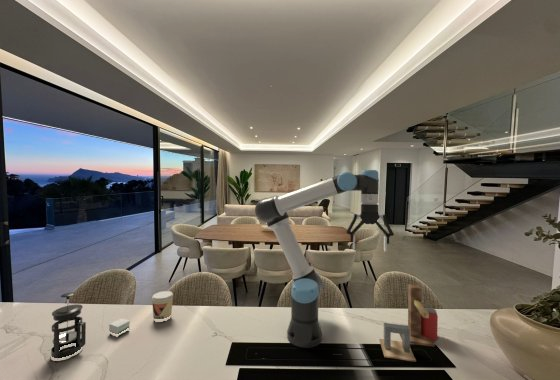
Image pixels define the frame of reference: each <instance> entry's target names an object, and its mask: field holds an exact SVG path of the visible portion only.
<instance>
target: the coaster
mask: <svg viewBox="0 0 560 380" xmlns="http://www.w3.org/2000/svg"><path fill="white" fill-rule="evenodd" d="M379 344H380V346H381V350H382V353H383V356H384V358H388V359H394V360H401V361H407V362H415V363H416V362H417V359H416V357H415V355H414V353H413V351H412V349H411V348H410V353H407V352H404V350H403V348H402V340H401V341H399V340H392V339H391V350H386V349H385V347H384V338H379Z"/></svg>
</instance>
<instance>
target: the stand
mask: <svg viewBox="0 0 560 380" xmlns="http://www.w3.org/2000/svg"><path fill="white" fill-rule="evenodd" d="M407 289H408V290H407V291H408V292H407V293H408V294H407V296H408V297H407V299H408V301H407V302H408V303H407V326H408V327H409V329H410V345H416V346H417V345H419V346H426V347H433V348H435V347H436V343H435V342H434V340H432V339H430V338H427V337H424V336H423V335H421V315H422V316H423V318H429V313H428V312H427V311H426V309H425V308H424V307H425V306H423V304H422V288H421V287H420V285H419V284H411V283H409V284H408V288H407ZM399 336H400V339H401V340H402V334H399Z"/></svg>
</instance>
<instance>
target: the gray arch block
mask: <svg viewBox="0 0 560 380" xmlns="http://www.w3.org/2000/svg"><path fill="white" fill-rule="evenodd" d="M391 333H393V334H399V335H400V334H402V339H401V342H402V348H403V350H404V352H407V353H410V349H411V344H410V329H409V327H408V325H406V324H396V323H388V322H383V339H384V347H385V349H386V350H391V340H392V339H391V337H392V335H391Z"/></svg>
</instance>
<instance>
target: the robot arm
mask: <svg viewBox="0 0 560 380" xmlns="http://www.w3.org/2000/svg"><path fill="white" fill-rule="evenodd" d="M379 180H380V179H379V171H378V170H376V169H364V170H363V169H362V170H361V172H360V174H354V173H353V172H350V171H345V172H342V173H340V174H336V175H335V176H333V177H330V178H327V179H324V180H322V181H319V182H316V183H313V184H311V185H308V186H305V187H303V188H299V189H296V190H294V191H291V192H288V193H285V194H283V195H280V196H279V195H273V196H270V197H264V198H262V199H260V200H259V201H258V202H257V203H256V204H255V207H254V213H255V216H256V218H257V219H258V220H259V221H260V222H262V223H266V225H267V227H268V229H271V230H272V231H273V233H274V235H275V238H276V239H277V242H278V243H279V245H280V248H281V249H282V253H283V254H284V256H285V259H286V261H287V263H288V265H289V267H290V269H291V271H292V279H291V280H293V283H292V284H291V288H290V289H291V290H290V291H291V292H290V294H291V296H290V299H291V309H290V310H291V312H290V313H291V314H290V321H289V325H288V328H287V330H286V338H287V341H288V342H289V343H291V344H292V345H293V346H295V347H297V348H303V349H305V348H306V349H310V348H314V347H317V346H318V345H320V344H321V343H322V342H323V331H322V328H321V326H320V322H319V301H320V297H321V294H322V291H323V281H322V280H323V279H322V278H321V276H320V275H319V274H318V273H317V272H316V270H315V268H314V267H313V266H311V265H309V263H308V260H307V259H306V257H305V254H304V253H303V250H302V248H301V246H300V244H299V242H298V240H297V238H296V236H295V233H294V232H293V230H292V227H291V225H290V223H289V219H290V216H289V215H288V212H290V211H293V210H296V209H299V208H301V207H305V206H307V205H311V204H313V203H314V204H315V203H316V202H319V201H323V200H325V199H328V198H330V197H331V198H332V197H334V196H336V195H339V194H343V193H346V192H350V191H352V192H355V191H356V192H357V191H359V192H360V197H361V198H360V203H361V204H360V214H357V213H354V214H353V218H352V220H351V222H350V223H349V226H348V228H347V229H346V234H348V235H349V236H350V238H349V239H350V242H351V243H352V250H353V251H355V250H356V235H355V233H356V232H358V230H360V228H361V227H362V226H363V225H364V224H365V225H376V226H377V227H378V228H379V230H380V231H381V232H382V233H383V234H384V236H383V251H384V253H385V252H386V253H387V252H388V246H387V245H389V244H390V238H391V237H393V236H394V235H395V234H394V232H393V229H392V228H391V225H390V224H389V222H388V220H387V215H386V214H379V188H380V187H379ZM359 218H360V219H361V220H360V221H359V223H358V224H357V225H356V226H355V227H354V228H353V226H354V225H355V223H356V221H357V220H358V219H359ZM379 219H381V221H383V224H384V226H385V228H386V229H387V231H386V229H385V228H384V227H383V226H382V225H381V224H380V222H379V221H378V220H379Z"/></svg>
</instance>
